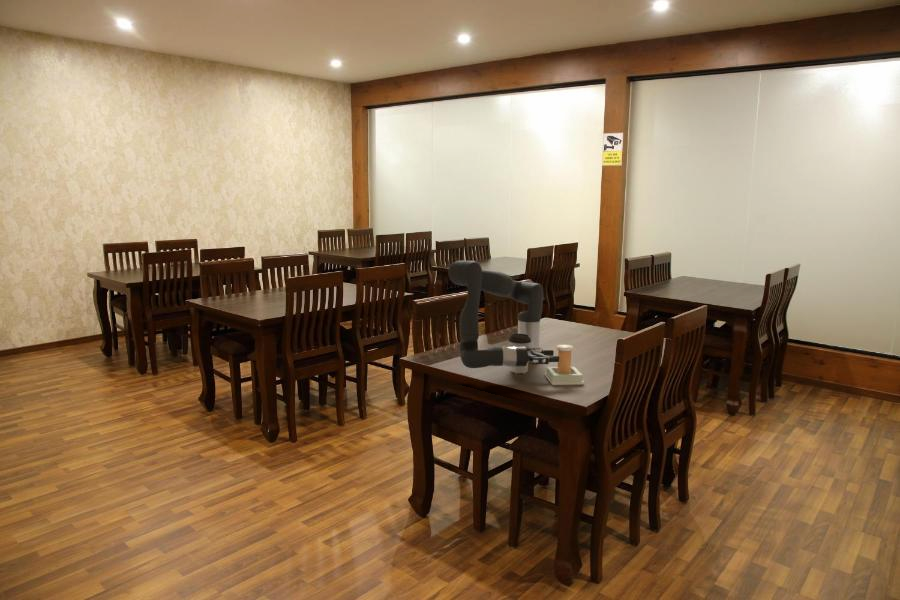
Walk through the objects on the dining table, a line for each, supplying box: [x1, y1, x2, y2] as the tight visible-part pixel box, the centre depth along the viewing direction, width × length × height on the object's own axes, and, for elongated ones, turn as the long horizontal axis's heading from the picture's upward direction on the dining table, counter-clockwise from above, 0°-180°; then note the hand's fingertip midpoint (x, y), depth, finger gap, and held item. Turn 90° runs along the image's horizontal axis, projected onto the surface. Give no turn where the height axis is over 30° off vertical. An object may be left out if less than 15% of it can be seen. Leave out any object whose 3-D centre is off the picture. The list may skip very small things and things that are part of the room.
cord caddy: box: [544, 366, 585, 386], centre depth 227 cm, size 12×12×4 cm
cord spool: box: [556, 344, 574, 374], centre depth 227 cm, size 6×6×12 cm
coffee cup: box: [507, 333, 531, 374], centre depth 237 cm, size 9×9×15 cm
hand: (556, 355), depth 226 cm, fingers open, 8 cm apart
